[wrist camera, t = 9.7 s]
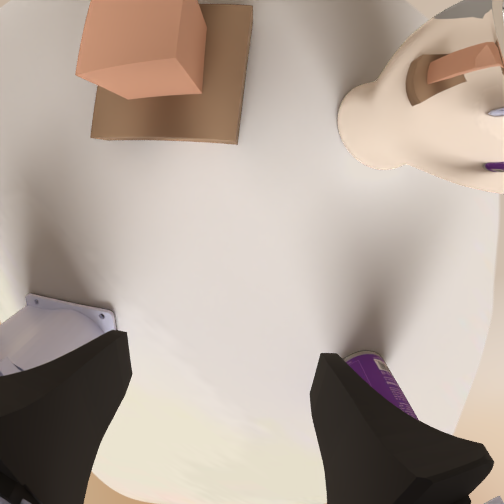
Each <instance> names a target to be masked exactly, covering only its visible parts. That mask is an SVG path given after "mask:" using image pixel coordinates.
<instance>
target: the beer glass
mask: <svg viewBox="0 0 504 504" xmlns="http://www.w3.org/2000/svg"><path fill="white" fill-rule="evenodd" d="M337 122H338V130H339V134H340V137H341V139H342V142H343V144H344V145H345V147H346V149H347V150H348V151H349V153H350V154H351V155H352V156H353V157H354V158H355V159H356V160H358V161H359V162H360V163H362V164H364V165H365V166H368V167H370V168H373V169H377V170H391V169H395V168H398V167H401V166H403V165H406V164H407V165H410V166H412V167H415V168H417V169H419V170H422V171H424V172H427V173H429V174H431V175H434V176H436V177H438V178H441V179H444V180H447V181H450V182H452V183H455V184H458V185H461V186H465V187H469V188H473V189H478V190H482V191H486V192H492V193H499V194H504V0H463V1H461V2H459V3H457V4H455V5H453V6H451V7H449V8H447V9H445V10H444V11H442V12H441V13H439V14H438V15H436V16H434V17H433V18H431V19H430V20H428V21H427V22H426V23H424V24H423V25H422V26H421V27H420V28H418V29H417V30H416V31H415V32H414V33H412V34H411V35H410V36H409V37H408V38H407V39H406V40H405V41H404V43H403V44H402V45H401V46H400V47H399V49H398V50H397V51H396V52H395V53H394V55H393V56H392V58H391V59H390V60H389V62H388V63H387V65H386V66H385V68H384V69H383V71H382V72H381V74H380V76H379V77H378V79H377V80H376V81H374V82H369V83H365V84H362V85H359V86H357V87H355V88H354V89H352V90H351V91H350V92H349V93H348V94H347V95H346V96H345V97H344V99H343V101H342V103H341V105H340V107H339V111H338V119H337Z"/></svg>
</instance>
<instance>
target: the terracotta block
mask: <svg viewBox="0 0 504 504" xmlns="http://www.w3.org/2000/svg"><path fill="white" fill-rule="evenodd" d="M206 33H207V26H206V23H205V20H204V17H203V15H202V12H201V9H200V6H199V3H198V1H197V0H91V2H90V6H89V9H88V13H87V17H86V21H85V26H84V30H83V35H82V39H81V44H80V50H79V55H78V61H77V67H76V74H75V75H76V76H78V77H81V78H83V79H85V80H87V81H90V82H92V83H94V84H96V85H98V86H100V87H103V88H105V89H107V90H109V91H111V92H113V93H115V94H117V95H119V96H121V97H124V98H126V99H128V100H130V99H138V98H147V97H158V96H170V95H185V94H202V86H203V71H204V57H205V45H206Z"/></svg>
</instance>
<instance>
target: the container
mask: <svg viewBox="0 0 504 504" xmlns="http://www.w3.org/2000/svg"><path fill="white" fill-rule="evenodd" d="M344 361H345V362H346V363H347V364H348V365H349V366H350V367H351V368H352V369H353V370H354V371H355V372H356V373H357V374H358V375H359V376H360V377H361V378H362V379H363V380H365V381H366V382H367V383H368V384H369V385H370V386H371V387H372V388H373V389H375V390H376V391H377V392H378V393H379V394H381V395H382V396H383V397H384V398H386V399H387V400H388V401H389V402H391V403H392V404H393V405H395V406H396V407H398V408H399V409H401V410H402V411H404V412H405V413H407V414H408V415H410V416H412V417H413V418H415V419H417V420H418V418H417V416H416V415H415V413H414V411H413V409H412V408H411V406H410V404H409V402H408V401H407V399H406V397H405V395H404V394H403V392H402V390H401V389H400V387H399V385H398V383H397V382H396V380H395V378H394V377H393V375H392V373H391V372H390V370H389V368H388V367H387V365H386V364H385V362H384V360H383V359H382V357H381V356H380V355H379V354H377V353H375V352H372V351H360V352H356V353H354V354H351V355H350V356H348V357H346V358H345V359H344Z"/></svg>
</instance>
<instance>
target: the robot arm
mask: <svg viewBox="0 0 504 504" xmlns="http://www.w3.org/2000/svg"><path fill="white" fill-rule="evenodd" d="M37 300H38V301H37ZM26 303H27V305H26V306H25V307H23V308H22V309H21V310H19V311H18V312H17V313H15V314H14V315H13V316H11V317H10V318H9V319H7V320H6V321H5V322H3V323H2V324H1V325H0V504H83V503H84V498H85V494H86V489H87V485H88V480H89V477H90V473H91V470H92V467H93V463H94V460H95V457H96V454H97V451H98V448H99V446H100V443H101V441H102V438H103V436H104V434H105V432H106V430H107V428H108V426H109V425H110V423H111V421H112V419H113V417H114V415H115V413H116V411H117V409H118V407H119V406H120V404H121V402H122V400H123V398H124V396H125V394H126V391H127V388H128V385H129V382H130V380H131V377H132V368H131V361H130V354H129V346H128V338H127V332H123V331H118V330H116V325H115V316H114V314H113V312H112V311H110V310H107V309H101V308H96V307H91V306H85V305H80V304H76V303H71V302H66V301H61V300H57V299H52V298H48V297H43V296H39V295H35V294H31V293H29V294H27V295H26ZM101 313H102V314H103V315H104V317H103V316H102V315H101ZM310 403H311V412H312V419H313V423H314V427H315V431H316V435H317V440H318V444H319V448H320V452H321V456H322V460H323V465H324V471H325V480H326V490H327V504H471V500H470V498H469V496H468V495H469V494H470V493H471V492H472V491H473V490H474V489H475V488H476V487H477V486H478V485H479V484H480V483H481V482H482V481H483V480H484V479H485V478H486V477H487V475H488V474H489V473H490V471H491V470H492V468H493V464H494V461H493V459H492V458H491V456H490V455H489V453H488V451H487V450H486V448H485V447H484V445H483V444H481V443H477V442H472V441H469V440H465V439H462V438H457V437H455V436H452V435H450V434H447V433H444V432H442V431H439V430H437V429H435V428H433V427H430V426H429V425H427V424H425V423H423V422H421V421H419V420H417V419H415V418H413V417H412V416H410V415H408V414H407V413H405V412H404V411H402V410H401V409H399V408H398V407H396V406H395V405H393V404H392V403H391V402H389V401H388V400H387V399H386V398H384V397H383V396H382V395H381V394H379V393H378V392H377V391H376V390H375V389H373V388H372V387H371V386H370V385H369V384H368V383H367V382H366V381H365V380H363V379H362V378H361V377H360V376H359V375H358V374H357V373H356V372H355V371H354V370H353V369H352V368H351V367H350V366H349V365H348V364H347V363H346V362H345V361H344V360H343V359H342V358H341V357H340V356H339V355H338V354H336V353H321V354H320V358H319V362H318V365H317V369H316V373H315V377H314V380H313V384H312V387H311V391H310ZM484 504H504V503H503V501H502V499H501V497H500V496H497V497H495V498H493V499H491V500H490V501H488V502H486V503H484Z"/></svg>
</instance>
